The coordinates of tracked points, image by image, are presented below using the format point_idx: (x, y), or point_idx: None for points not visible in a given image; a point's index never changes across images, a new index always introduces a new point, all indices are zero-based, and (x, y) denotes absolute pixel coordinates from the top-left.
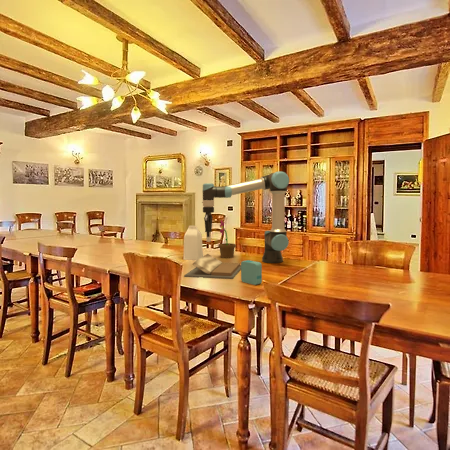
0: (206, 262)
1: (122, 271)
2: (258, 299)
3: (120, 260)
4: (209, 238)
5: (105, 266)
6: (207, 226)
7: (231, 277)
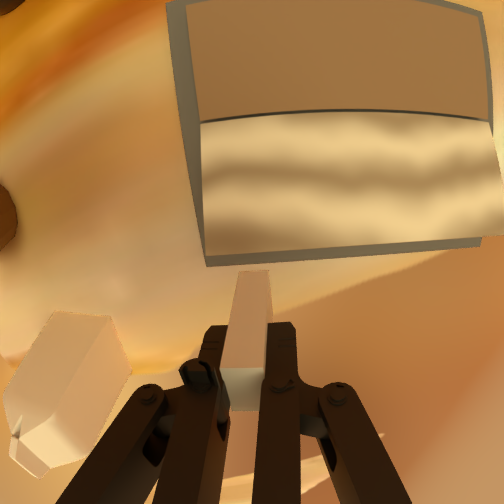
0: (409, 183)
1: (380, 434)
2: None
3: (236, 477)
4: (267, 305)
5: (319, 473)
6: (387, 476)
7: (482, 17)
